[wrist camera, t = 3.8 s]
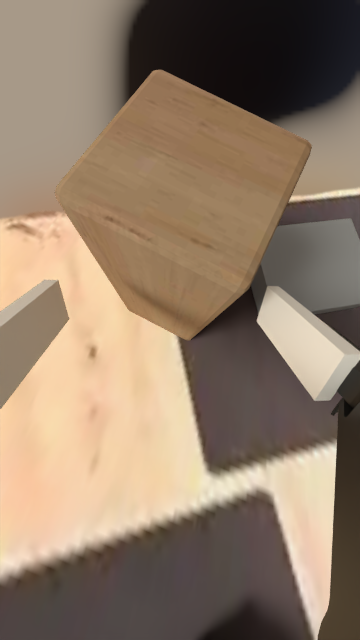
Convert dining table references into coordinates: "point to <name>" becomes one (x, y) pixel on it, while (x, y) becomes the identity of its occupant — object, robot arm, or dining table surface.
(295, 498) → the dining table surface
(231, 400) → the dining table surface
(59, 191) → the wooden block
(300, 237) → the plinth
